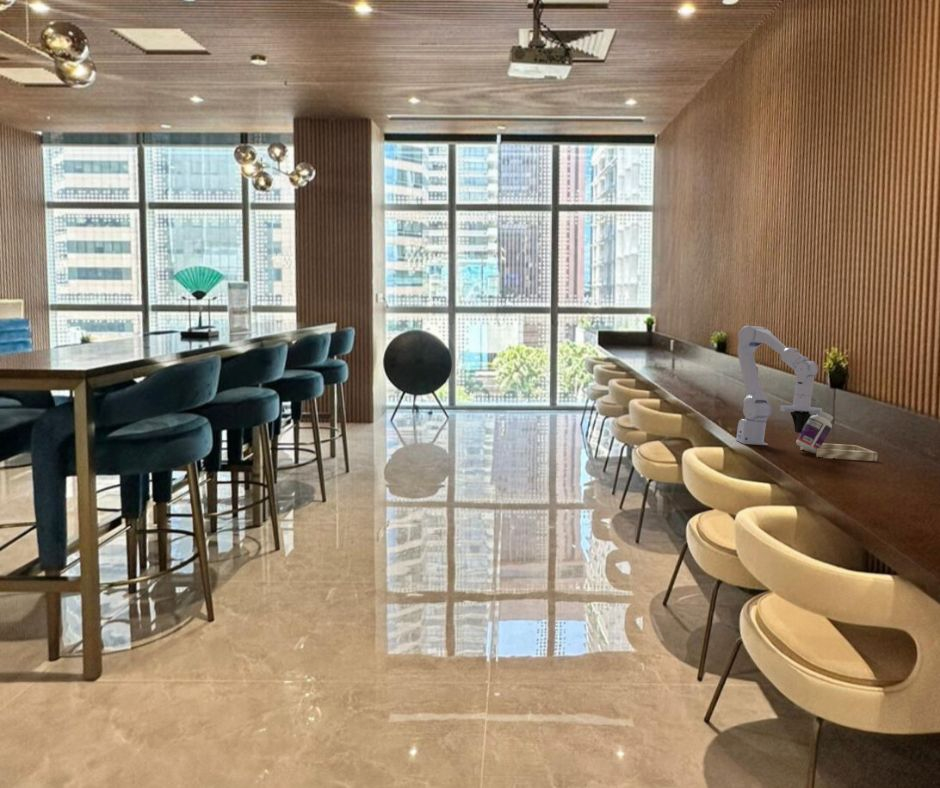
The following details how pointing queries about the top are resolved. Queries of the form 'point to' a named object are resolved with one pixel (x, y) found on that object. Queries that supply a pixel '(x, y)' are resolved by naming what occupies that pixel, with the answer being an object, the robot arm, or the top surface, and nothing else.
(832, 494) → the top surface
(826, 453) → the cradle
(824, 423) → the pill bottle
